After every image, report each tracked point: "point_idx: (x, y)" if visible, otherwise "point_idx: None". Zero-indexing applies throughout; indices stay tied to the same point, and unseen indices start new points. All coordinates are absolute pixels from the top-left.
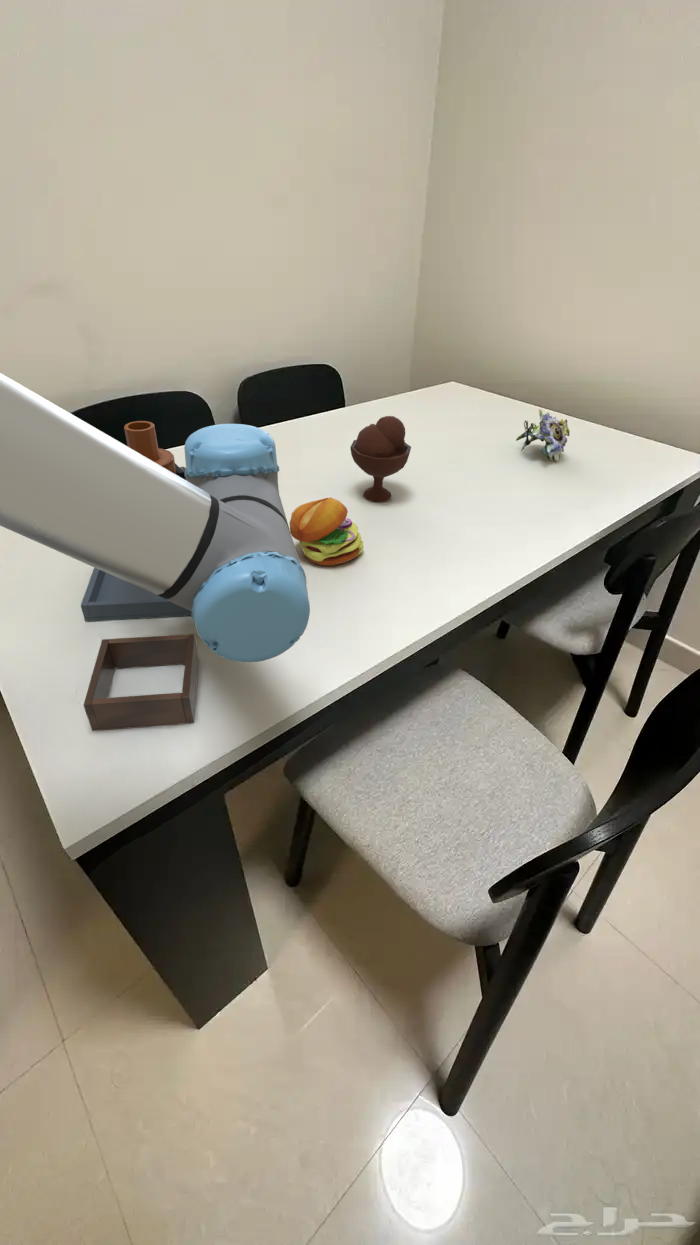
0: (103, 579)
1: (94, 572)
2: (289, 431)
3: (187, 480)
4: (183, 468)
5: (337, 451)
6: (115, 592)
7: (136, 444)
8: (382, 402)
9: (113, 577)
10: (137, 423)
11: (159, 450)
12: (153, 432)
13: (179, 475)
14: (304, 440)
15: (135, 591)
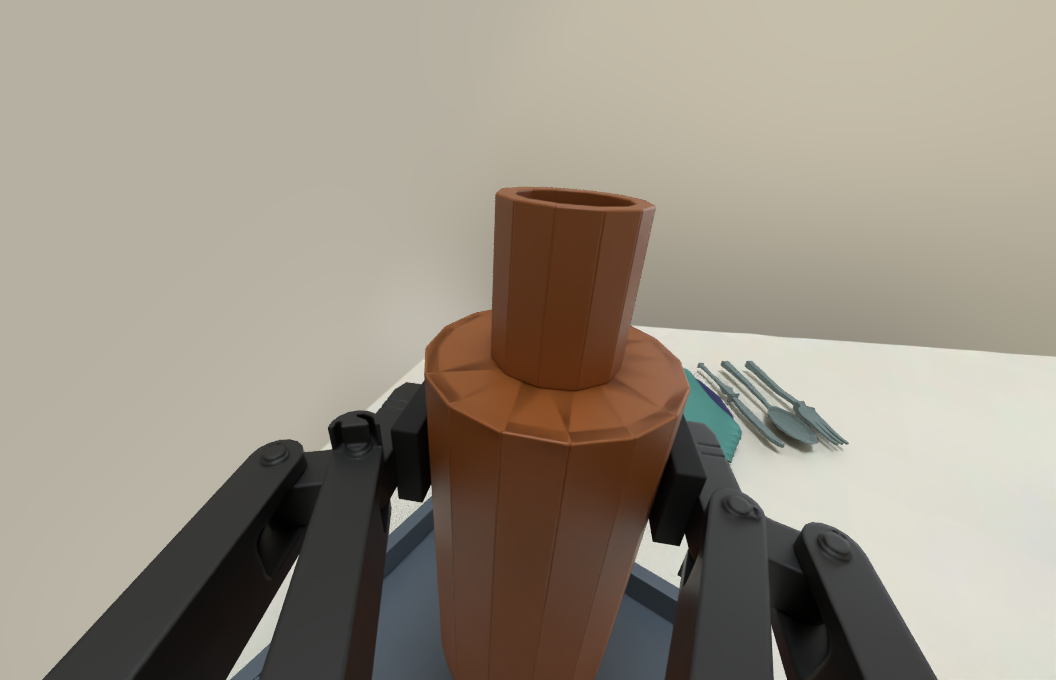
0: (408, 556)
1: None
2: (868, 355)
3: (714, 567)
4: (704, 435)
5: (991, 426)
6: (386, 630)
7: (513, 281)
8: (1052, 358)
9: (428, 562)
10: (582, 198)
11: (636, 340)
12: (631, 242)
13: (677, 482)
14: (902, 379)
15: (422, 665)
